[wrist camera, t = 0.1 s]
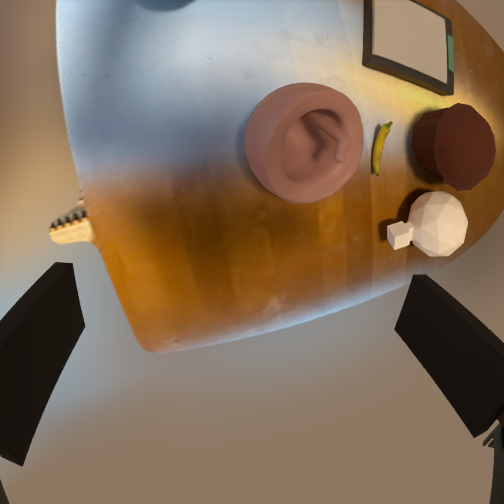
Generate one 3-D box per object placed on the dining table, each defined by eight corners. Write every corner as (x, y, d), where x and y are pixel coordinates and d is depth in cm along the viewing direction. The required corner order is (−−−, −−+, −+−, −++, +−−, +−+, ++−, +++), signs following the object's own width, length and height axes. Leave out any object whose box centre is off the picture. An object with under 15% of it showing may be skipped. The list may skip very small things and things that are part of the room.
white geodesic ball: (447, 172, 34) (376, 192, 35) (485, 209, 27) (409, 237, 28) (442, 219, 39) (378, 240, 41) (473, 258, 32) (404, 286, 34)
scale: (363, -13, 24) (373, -21, 22) (441, 23, 26) (453, 19, 23) (362, 65, 29) (373, 61, 26) (443, 95, 31) (456, 95, 28)
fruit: (375, 174, 35) (387, 178, 32) (368, 173, 35) (379, 177, 32) (382, 122, 32) (395, 122, 29) (375, 120, 32) (387, 120, 29)
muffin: (419, 194, 36) (466, 214, 27) (391, 122, 32) (441, 124, 23) (467, 159, 35) (513, 172, 26) (445, 93, 31) (494, 93, 22)
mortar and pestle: (300, 211, 36) (335, 244, 25) (218, 152, 32) (219, 160, 21) (358, 136, 33) (412, 141, 22) (282, 72, 29) (312, 45, 18)
